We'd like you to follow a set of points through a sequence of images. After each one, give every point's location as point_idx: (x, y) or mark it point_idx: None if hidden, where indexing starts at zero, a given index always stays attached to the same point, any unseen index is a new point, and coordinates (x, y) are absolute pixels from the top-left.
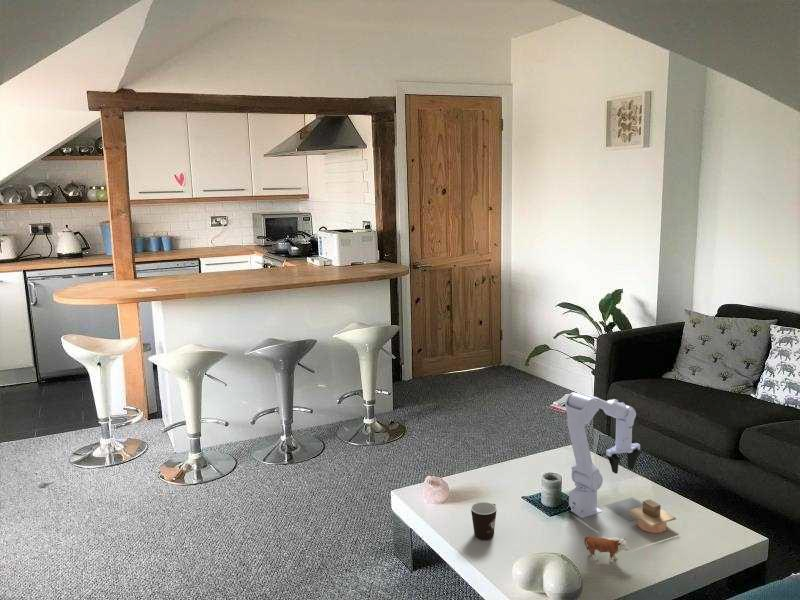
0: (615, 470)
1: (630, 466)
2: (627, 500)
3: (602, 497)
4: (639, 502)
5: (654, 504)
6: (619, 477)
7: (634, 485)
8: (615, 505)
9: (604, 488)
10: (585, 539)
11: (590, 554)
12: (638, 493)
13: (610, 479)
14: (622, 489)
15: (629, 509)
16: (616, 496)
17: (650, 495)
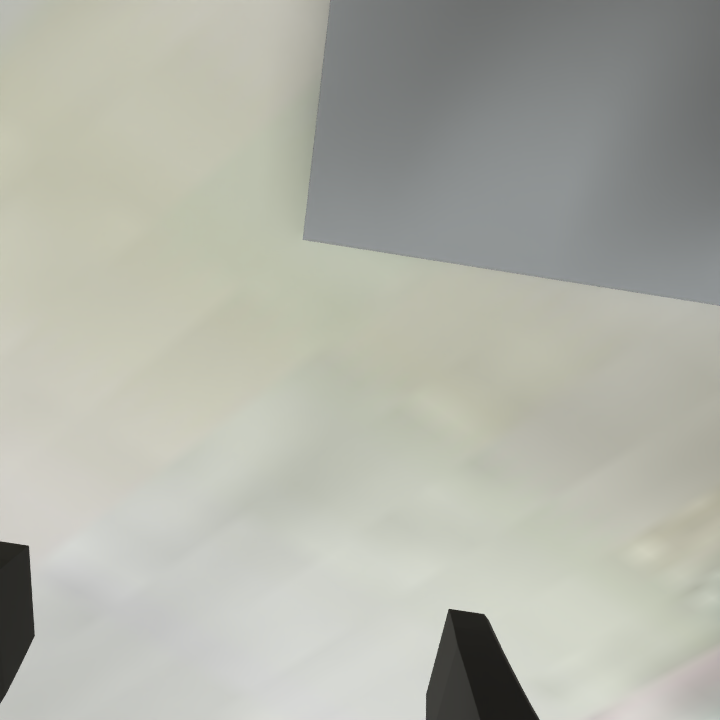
0: (508, 683)
1: (2, 623)
2: (419, 217)
3: (566, 458)
4: (332, 69)
5: None
6: None
7: (12, 431)
8: (672, 219)
9: (362, 568)
10: None
11: None
12: (119, 274)
13: (148, 644)
14: (211, 448)
15: (643, 4)
16: (414, 382)
17: (16, 140)
